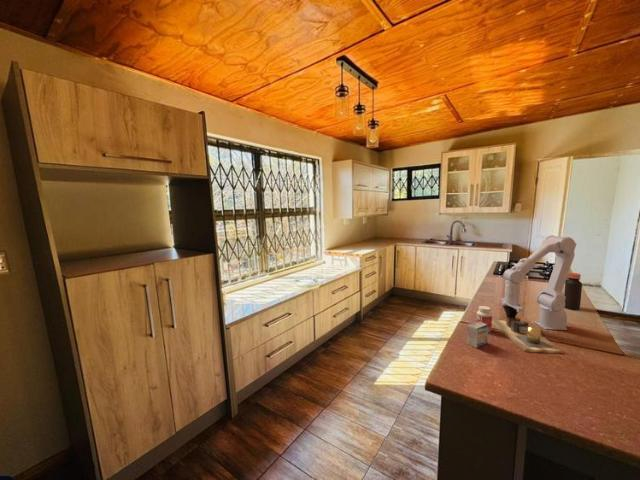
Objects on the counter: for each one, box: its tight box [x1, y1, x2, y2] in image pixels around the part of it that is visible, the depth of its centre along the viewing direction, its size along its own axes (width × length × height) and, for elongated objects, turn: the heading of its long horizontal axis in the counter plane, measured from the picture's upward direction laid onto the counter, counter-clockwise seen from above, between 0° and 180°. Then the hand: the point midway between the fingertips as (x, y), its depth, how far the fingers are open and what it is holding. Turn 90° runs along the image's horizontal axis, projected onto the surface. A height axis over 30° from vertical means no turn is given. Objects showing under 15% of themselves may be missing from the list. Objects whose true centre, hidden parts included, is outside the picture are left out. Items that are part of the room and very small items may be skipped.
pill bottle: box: [476, 305, 493, 333], centre depth 124 cm, size 6×6×11 cm
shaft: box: [506, 316, 527, 333], centre depth 121 cm, size 5×9×4 cm, turn 172°
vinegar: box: [563, 272, 583, 311], centre depth 146 cm, size 7×7×20 cm
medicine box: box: [466, 321, 489, 349], centre depth 112 cm, size 8×4×9 cm, turn 117°
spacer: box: [527, 325, 542, 344], centre depth 110 cm, size 4×4×6 cm
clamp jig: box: [492, 319, 564, 354], centre depth 118 cm, size 14×28×5 cm, turn 172°
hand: (510, 320), depth 127 cm, fingers closed
